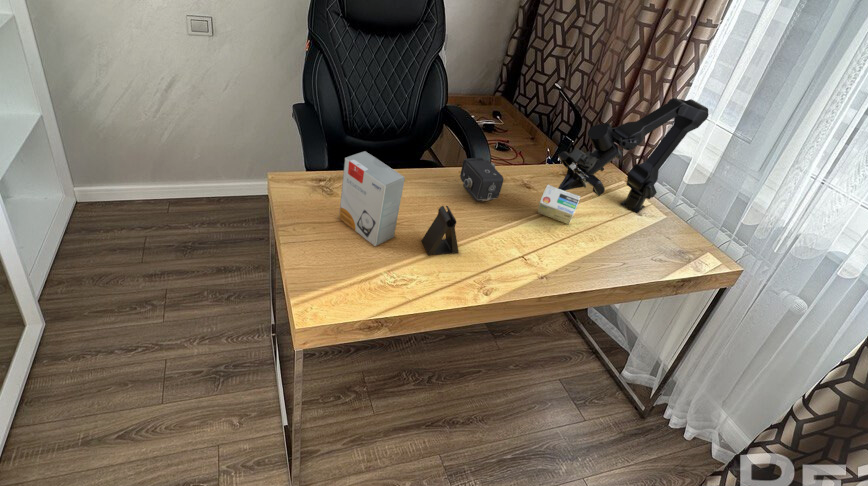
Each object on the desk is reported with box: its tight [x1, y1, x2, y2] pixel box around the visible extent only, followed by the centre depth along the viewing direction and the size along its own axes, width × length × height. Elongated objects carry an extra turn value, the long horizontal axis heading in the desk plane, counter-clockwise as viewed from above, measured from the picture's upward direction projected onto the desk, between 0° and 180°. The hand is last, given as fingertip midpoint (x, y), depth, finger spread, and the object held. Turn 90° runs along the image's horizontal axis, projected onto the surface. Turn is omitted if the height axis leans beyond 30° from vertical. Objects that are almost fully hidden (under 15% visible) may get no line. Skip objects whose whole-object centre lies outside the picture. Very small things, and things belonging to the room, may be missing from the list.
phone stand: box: [421, 205, 459, 256], centre depth 137 cm, size 9×6×12 cm, turn 106°
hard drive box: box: [338, 150, 406, 247], centre depth 136 cm, size 16×8×20 cm, turn 47°
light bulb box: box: [537, 183, 581, 225], centre depth 158 cm, size 11×7×11 cm
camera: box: [459, 157, 505, 202], centre depth 163 cm, size 11×11×15 cm
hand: (558, 190), depth 159 cm, fingers closed
